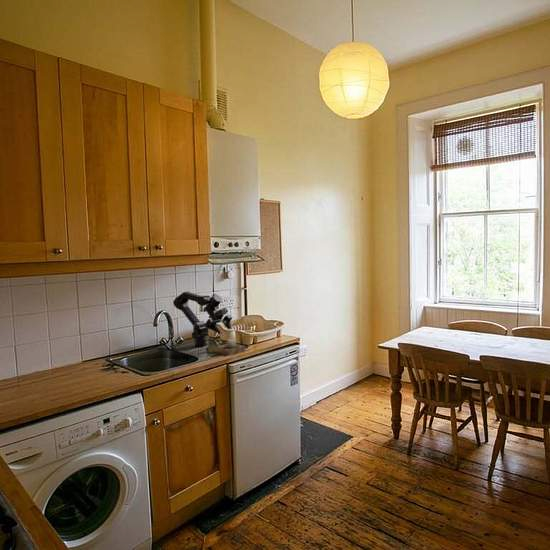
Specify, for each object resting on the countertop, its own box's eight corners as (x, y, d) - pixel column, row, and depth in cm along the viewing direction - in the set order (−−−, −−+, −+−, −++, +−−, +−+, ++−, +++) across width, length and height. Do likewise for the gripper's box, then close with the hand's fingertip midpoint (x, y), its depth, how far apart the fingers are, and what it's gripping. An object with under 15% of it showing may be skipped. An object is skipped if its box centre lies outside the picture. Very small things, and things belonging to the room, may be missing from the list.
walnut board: (228, 355, 230) (228, 350, 230) (214, 352, 239) (214, 347, 239) (245, 350, 240) (245, 346, 239) (231, 347, 248) (231, 342, 248)
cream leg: (225, 351, 239) (224, 329, 238) (232, 349, 242) (231, 328, 241) (230, 353, 235) (229, 331, 234) (237, 351, 238) (237, 329, 237)
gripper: (207, 305, 235) (220, 326, 229) (229, 301, 249) (243, 321, 243) (198, 317, 241) (212, 338, 234) (221, 313, 255) (234, 332, 249)
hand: (226, 332), depth 240 cm, fingers open, 9 cm apart
